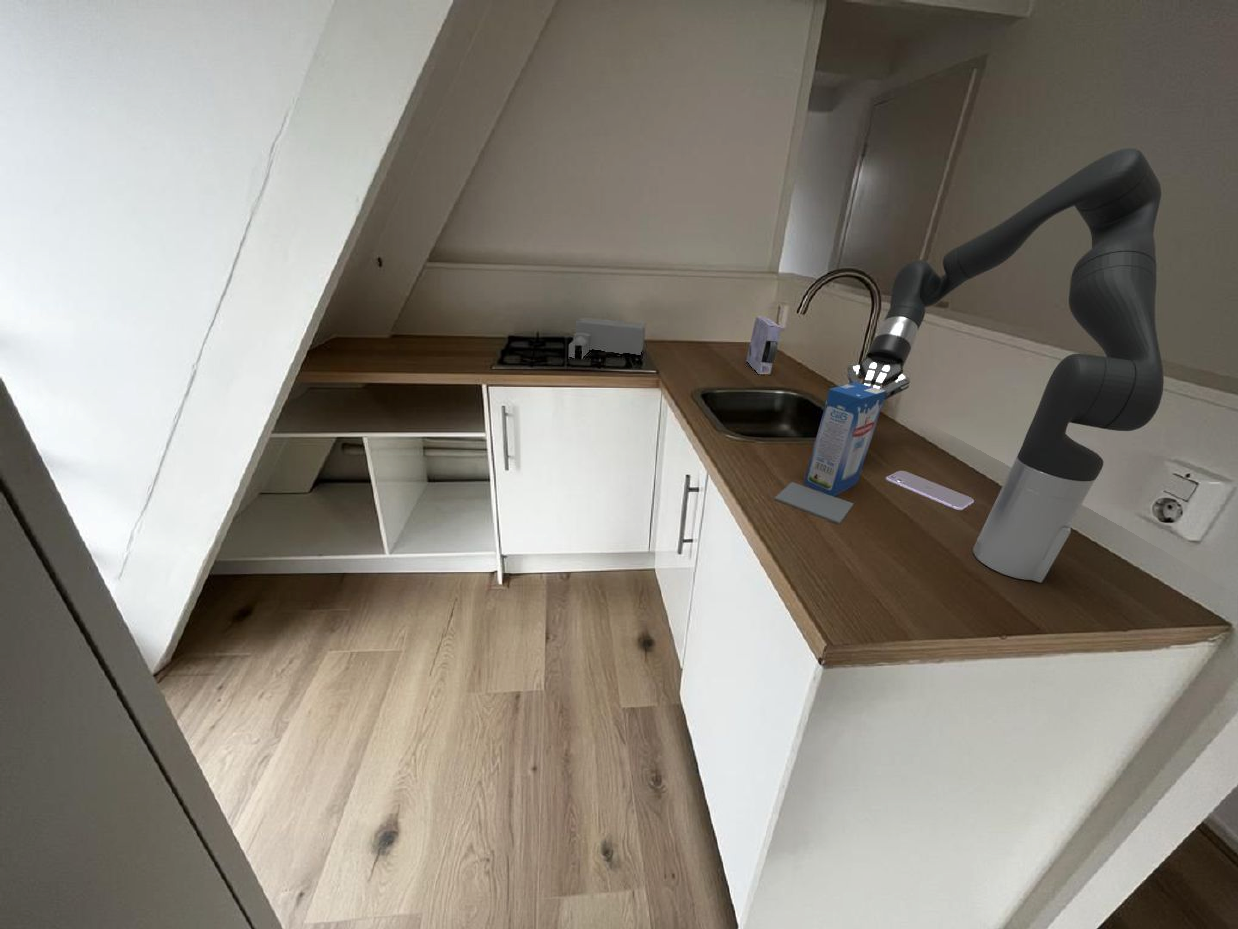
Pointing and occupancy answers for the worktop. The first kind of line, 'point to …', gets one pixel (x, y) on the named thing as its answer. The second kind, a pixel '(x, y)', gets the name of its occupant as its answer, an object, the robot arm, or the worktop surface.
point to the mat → (814, 502)
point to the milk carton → (844, 437)
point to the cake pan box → (763, 345)
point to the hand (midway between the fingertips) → (861, 411)
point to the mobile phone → (930, 490)
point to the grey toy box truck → (607, 336)
